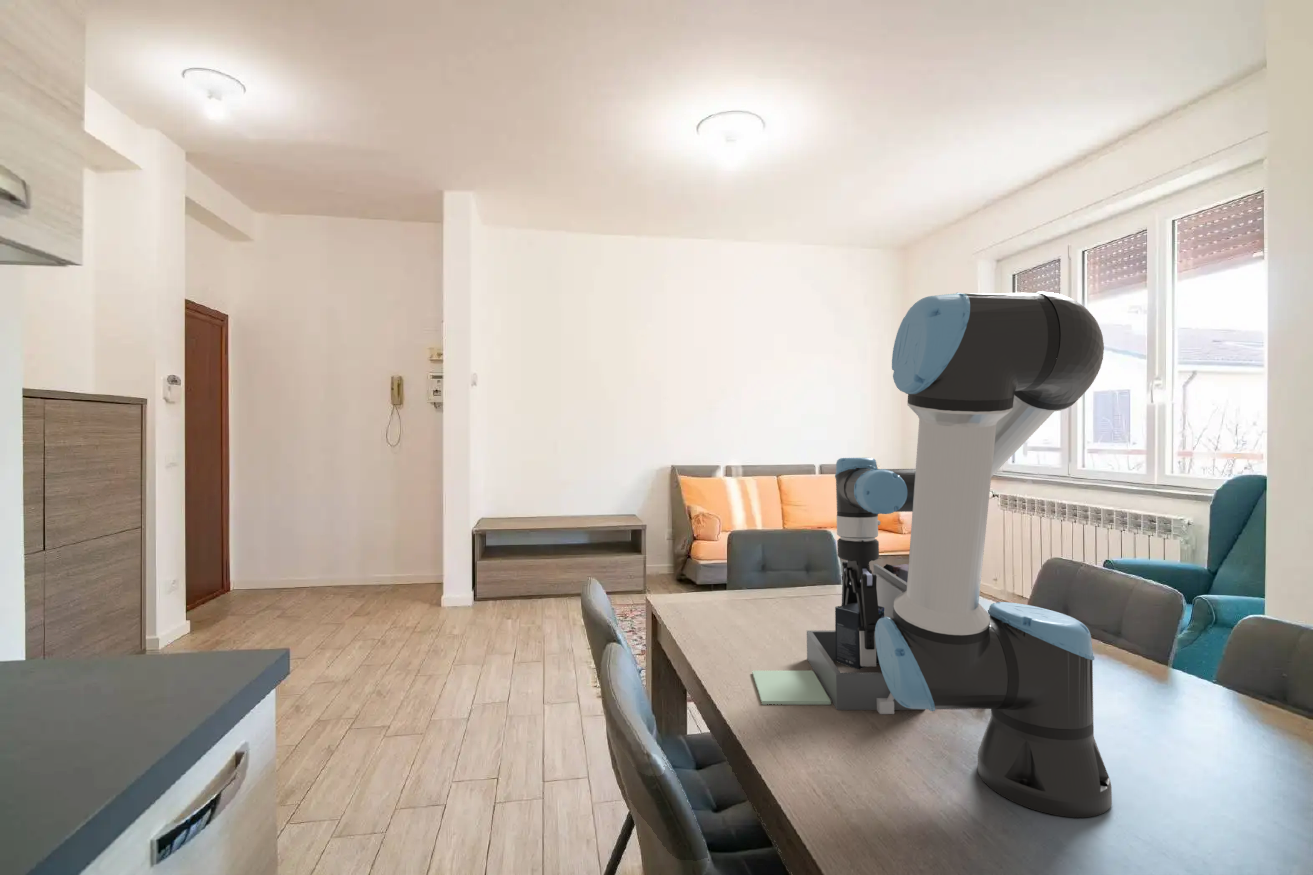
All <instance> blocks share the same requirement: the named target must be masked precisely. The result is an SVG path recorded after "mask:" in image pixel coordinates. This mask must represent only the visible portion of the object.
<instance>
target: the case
mask: <svg viewBox="0 0 1313 875" xmlns="http://www.w3.org/2000/svg"><path fill="white" fill-rule="evenodd" d="M872 565H873V568H872V569H873V574H876V576H877V583H876V588H877V599H878V606H881V607H884V617H885V616H887V617H891V618H892V616H893V607H894V600H895V598H896V597H897V596H898V595H900V594H902V593H903V592H905V591H907V582H905V581H904V580H902V579H900V578H899V577H898V576H897V574H892V573H891V572H889V571H888V570H886V569H885V568H884V566H881V565H879V564H878V563H873V564H872ZM835 650H836V647H835V629H834V630H826V629H825V630H823V629H822V630H821V629H820V630H806V660H807V661H808V663H809V665H810V667H811V668H812V671H814V673H815V675H816V677H817V678H818V680H819V682H820V683H821V685H822V687H823V689H824V690H825V692H826V694H827V695H828V697H829V699H830V701H831V703H832V704H833V707H835V710H839V711H840V710H842V711H843V710H845V711H849V710H850V711H857V710H858V711H859V710H860V711H863V710H865V711H870V710H871V711H873V710H874V711H877V712H878V714H879V715H895V711H926V709H910V708H906V707H904V706H902V705H901V704H899V703H898V702H897V701H896V700H895V698H894V697H893V696H892V694H891V692H890V691H889V689H888V686H887V684H886V682H885V679H884V677H883V674H882V672H841V670H839V668H838V667H837V665H836V663H835V662H836V653H835V652H836V651H835ZM834 661H835V662H834ZM878 665H879V666H880V663H878Z"/></svg>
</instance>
